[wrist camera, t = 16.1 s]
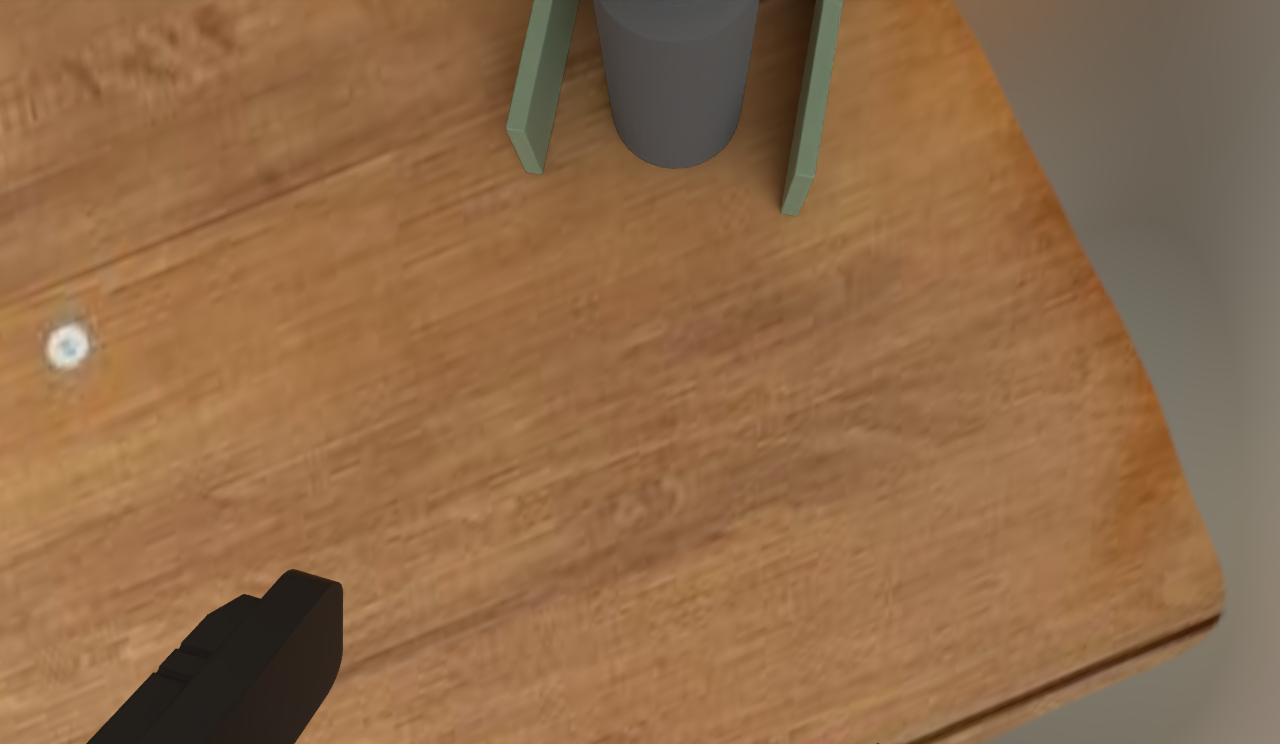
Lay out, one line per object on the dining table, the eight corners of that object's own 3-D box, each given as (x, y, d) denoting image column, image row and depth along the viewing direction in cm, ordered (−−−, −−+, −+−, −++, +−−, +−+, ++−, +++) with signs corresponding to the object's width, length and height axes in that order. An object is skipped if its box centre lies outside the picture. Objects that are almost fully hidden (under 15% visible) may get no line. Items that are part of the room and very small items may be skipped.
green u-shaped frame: (837, -25, 38) (858, -94, 34) (797, 216, 37) (814, 177, 32) (575, -62, 39) (562, -134, 35) (525, 172, 37) (504, 128, 33)
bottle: (761, 142, 37) (816, -95, 22) (639, 189, 37) (615, -18, 22) (711, 31, 38) (734, -268, 23) (593, 77, 38) (540, -194, 23)
